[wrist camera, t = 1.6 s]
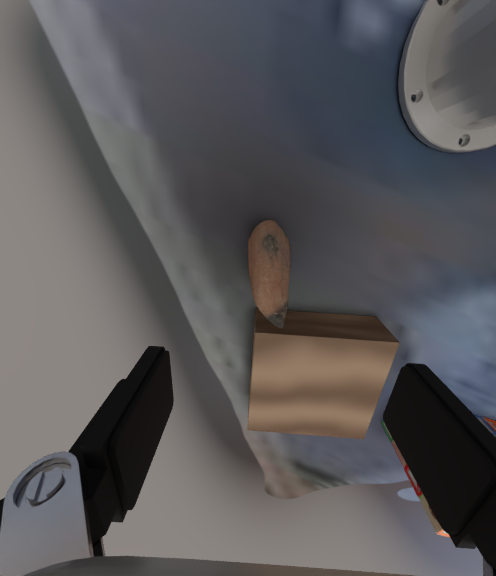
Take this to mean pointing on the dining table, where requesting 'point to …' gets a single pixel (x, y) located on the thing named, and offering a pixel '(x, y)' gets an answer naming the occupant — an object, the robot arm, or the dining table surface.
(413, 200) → the dining table surface
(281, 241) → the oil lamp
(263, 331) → the walnut base block
